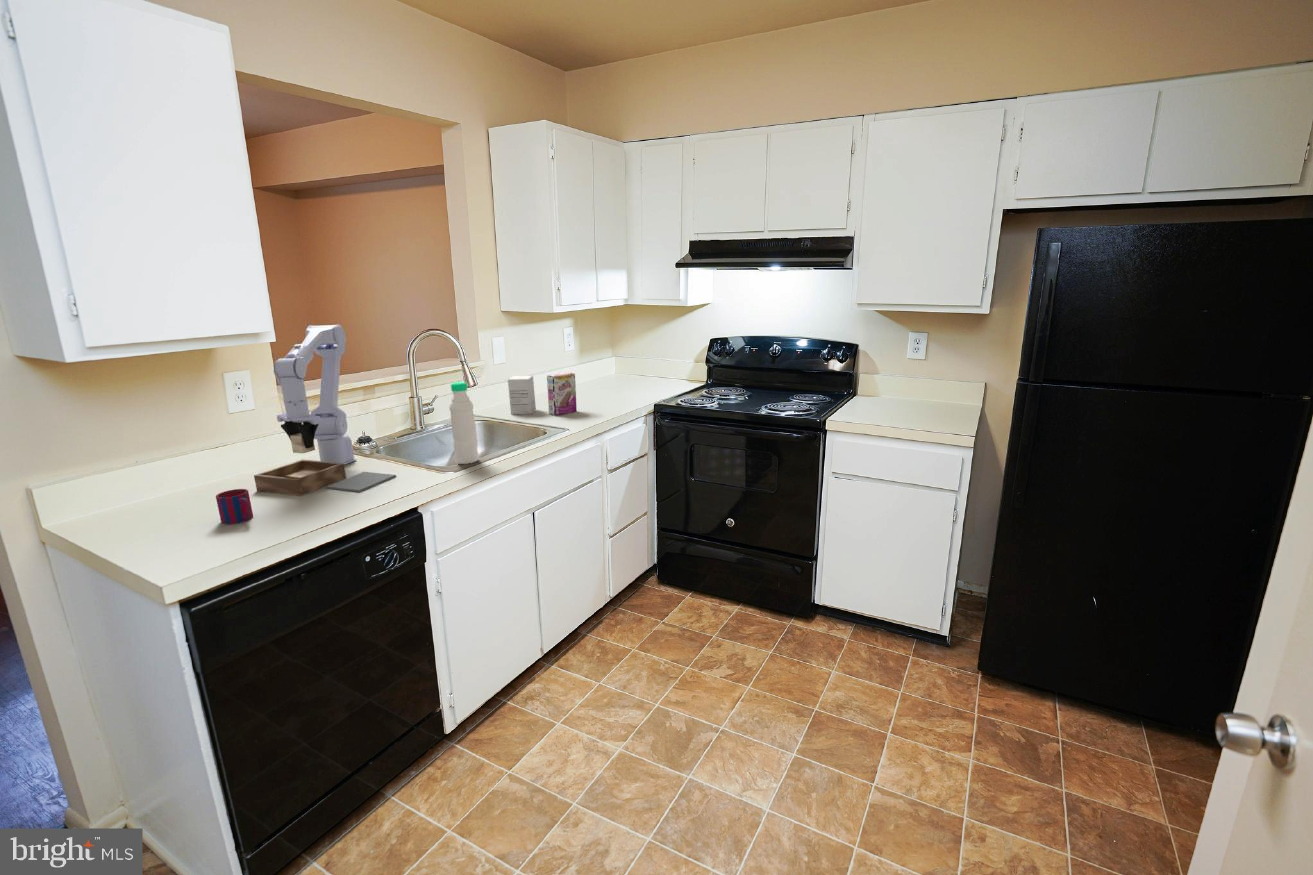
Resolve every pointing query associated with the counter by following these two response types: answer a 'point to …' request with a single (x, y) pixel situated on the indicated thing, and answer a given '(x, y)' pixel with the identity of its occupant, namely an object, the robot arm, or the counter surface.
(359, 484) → the grey mat
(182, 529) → the counter surface
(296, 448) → the birch block
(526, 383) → the supplement box
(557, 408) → the candy bar box
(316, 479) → the walnut crate
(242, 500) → the mug
